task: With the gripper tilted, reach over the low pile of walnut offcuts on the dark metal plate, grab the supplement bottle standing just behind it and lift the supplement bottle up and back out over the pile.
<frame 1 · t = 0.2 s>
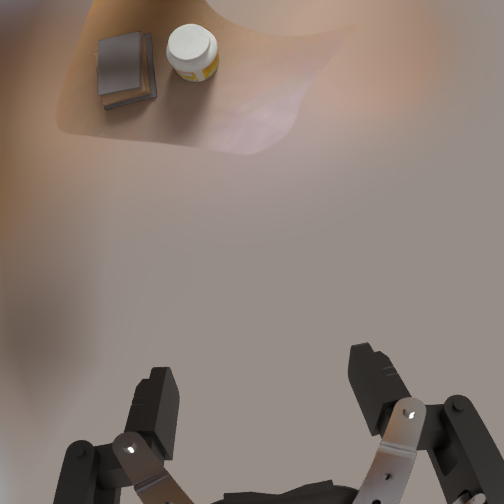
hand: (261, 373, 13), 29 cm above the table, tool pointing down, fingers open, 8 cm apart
offcut stack: (127, 71, 32), on the table
supplement bottle: (197, 63, 33), on the table
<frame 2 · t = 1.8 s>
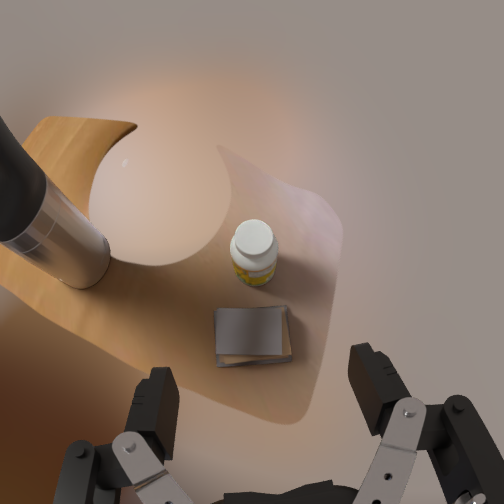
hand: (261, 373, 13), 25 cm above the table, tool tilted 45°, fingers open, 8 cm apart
offcut stack: (252, 336, 37), on the table
supplement bottle: (254, 267, 41), on the table
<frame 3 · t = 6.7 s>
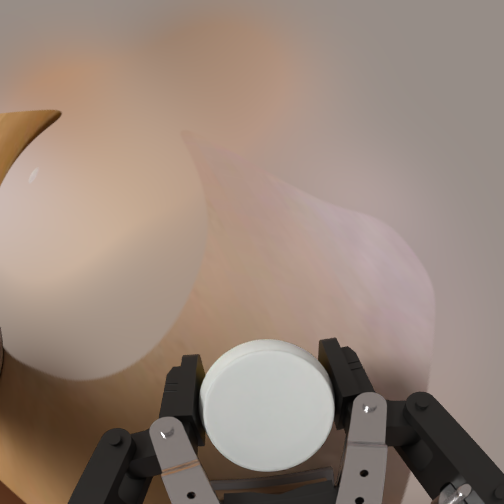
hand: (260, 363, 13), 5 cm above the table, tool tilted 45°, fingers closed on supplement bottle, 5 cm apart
supplement bottle: (264, 394, 17), on the table, touching gripper
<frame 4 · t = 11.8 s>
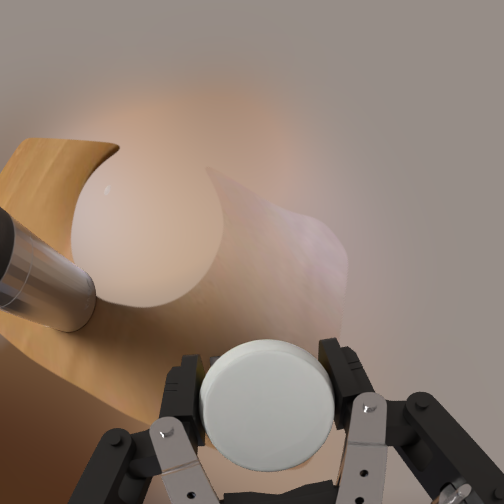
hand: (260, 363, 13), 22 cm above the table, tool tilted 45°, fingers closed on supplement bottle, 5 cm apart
supplement bottle: (264, 394, 17), point 17 cm above the table, touching gripper
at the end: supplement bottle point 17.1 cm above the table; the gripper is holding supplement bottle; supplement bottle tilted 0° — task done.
